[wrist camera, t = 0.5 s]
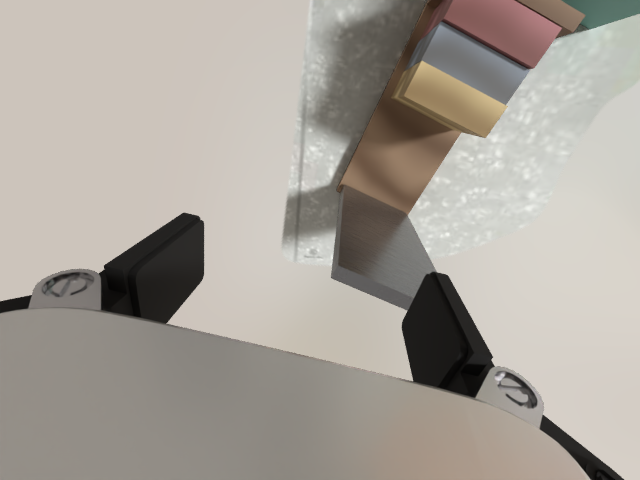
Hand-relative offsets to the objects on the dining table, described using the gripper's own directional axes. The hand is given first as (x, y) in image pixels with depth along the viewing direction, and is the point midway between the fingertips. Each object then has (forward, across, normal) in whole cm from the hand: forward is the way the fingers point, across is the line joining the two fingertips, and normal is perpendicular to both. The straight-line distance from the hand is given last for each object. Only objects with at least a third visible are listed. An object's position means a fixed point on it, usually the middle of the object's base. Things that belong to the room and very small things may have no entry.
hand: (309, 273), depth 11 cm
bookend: (+28, -6, +5) cm, 30 cm away
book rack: (+30, -9, -5) cm, 32 cm away
